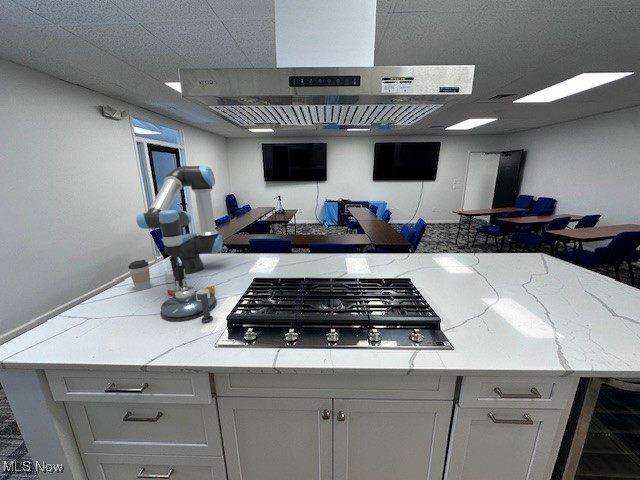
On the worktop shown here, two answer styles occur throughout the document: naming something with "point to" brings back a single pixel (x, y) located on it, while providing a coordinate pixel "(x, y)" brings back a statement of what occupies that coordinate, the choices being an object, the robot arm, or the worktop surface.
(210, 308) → the base
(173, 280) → the ink box
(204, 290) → the dial post
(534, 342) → the worktop surface
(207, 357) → the worktop surface
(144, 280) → the coffee cup
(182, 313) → the turntable
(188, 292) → the cover
